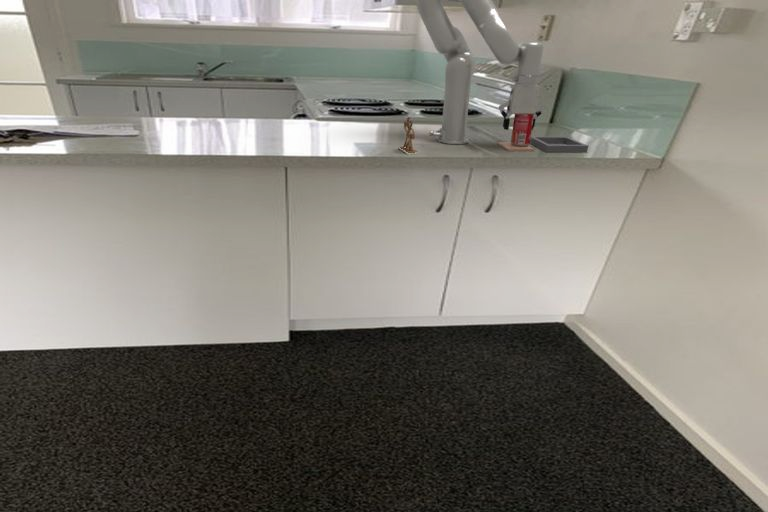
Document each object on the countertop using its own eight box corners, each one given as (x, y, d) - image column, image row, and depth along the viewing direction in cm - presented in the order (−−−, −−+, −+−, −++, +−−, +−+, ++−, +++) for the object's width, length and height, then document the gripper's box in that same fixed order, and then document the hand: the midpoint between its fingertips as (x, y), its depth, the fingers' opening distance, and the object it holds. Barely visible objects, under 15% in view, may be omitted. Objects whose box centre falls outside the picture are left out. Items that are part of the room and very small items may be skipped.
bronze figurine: (418, 154, 148) (420, 119, 142) (408, 155, 147) (410, 119, 141) (407, 148, 155) (409, 115, 150) (398, 149, 154) (399, 115, 148)
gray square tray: (546, 152, 156) (547, 145, 154) (528, 142, 170) (529, 136, 169) (586, 152, 157) (588, 145, 156) (565, 142, 172) (567, 136, 170)
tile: (507, 150, 156) (508, 148, 156) (497, 144, 166) (497, 142, 165) (533, 150, 157) (533, 148, 157) (521, 144, 167) (521, 142, 167)
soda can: (531, 147, 159) (538, 111, 153) (512, 146, 159) (518, 111, 153) (525, 143, 165) (532, 108, 159) (507, 142, 165) (513, 108, 159)
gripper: (507, 81, 146) (499, 131, 154) (554, 82, 148) (544, 131, 156) (499, 79, 153) (492, 127, 161) (544, 80, 155) (535, 127, 163)
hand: (518, 129), depth 158 cm, fingers open, 9 cm apart
